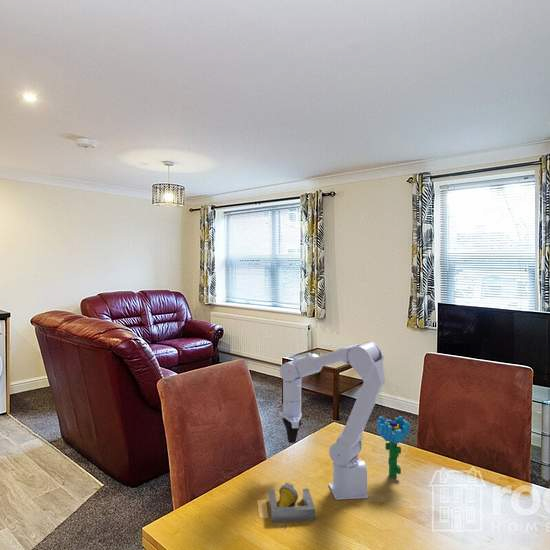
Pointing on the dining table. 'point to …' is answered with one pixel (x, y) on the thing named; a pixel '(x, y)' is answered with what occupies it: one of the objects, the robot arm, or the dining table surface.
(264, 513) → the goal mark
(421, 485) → the dining table surface
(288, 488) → the grooved yellow cone
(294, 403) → the robot arm
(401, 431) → the toy flower
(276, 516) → the bracket
